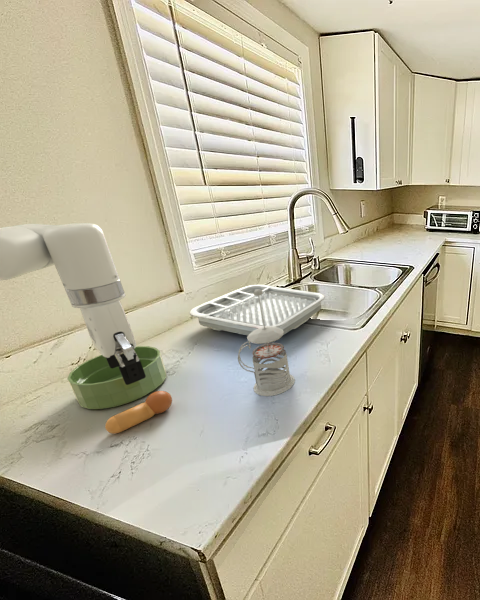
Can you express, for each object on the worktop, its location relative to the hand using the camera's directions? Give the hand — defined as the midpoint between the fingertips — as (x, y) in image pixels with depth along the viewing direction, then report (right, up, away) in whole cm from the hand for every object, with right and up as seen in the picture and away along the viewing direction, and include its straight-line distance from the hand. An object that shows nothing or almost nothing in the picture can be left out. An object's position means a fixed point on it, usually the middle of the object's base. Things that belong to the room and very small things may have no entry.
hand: (127, 372), depth 65 cm
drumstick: (0, -11, +4) cm, 12 cm away
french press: (+23, -7, +15) cm, 28 cm away
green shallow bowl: (-13, -7, +15) cm, 21 cm away
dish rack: (+7, +6, +50) cm, 51 cm away
